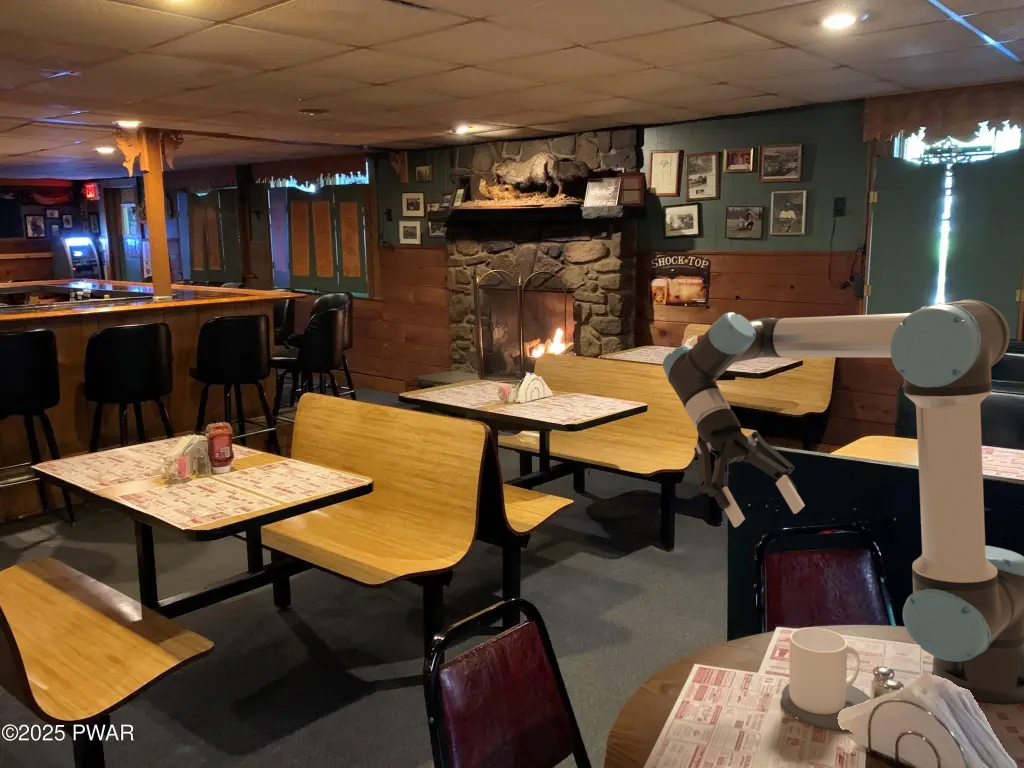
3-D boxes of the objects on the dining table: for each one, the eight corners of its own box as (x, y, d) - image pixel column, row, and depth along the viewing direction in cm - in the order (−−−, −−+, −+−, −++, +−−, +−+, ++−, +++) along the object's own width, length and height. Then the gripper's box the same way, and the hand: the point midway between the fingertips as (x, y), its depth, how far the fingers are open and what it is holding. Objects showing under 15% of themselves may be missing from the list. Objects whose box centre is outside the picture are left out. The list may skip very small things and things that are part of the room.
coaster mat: (870, 689, 136) (870, 684, 135) (878, 736, 123) (878, 730, 122) (782, 678, 140) (782, 673, 140) (780, 722, 127) (780, 716, 127)
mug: (876, 707, 128) (878, 644, 127) (808, 720, 126) (809, 655, 124) (842, 681, 137) (844, 621, 135) (778, 692, 134) (779, 631, 133)
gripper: (754, 421, 160) (811, 514, 149) (650, 438, 150) (703, 539, 138) (774, 399, 155) (834, 493, 143) (667, 414, 144) (723, 518, 133)
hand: (770, 516), depth 141 cm, fingers open, 13 cm apart
